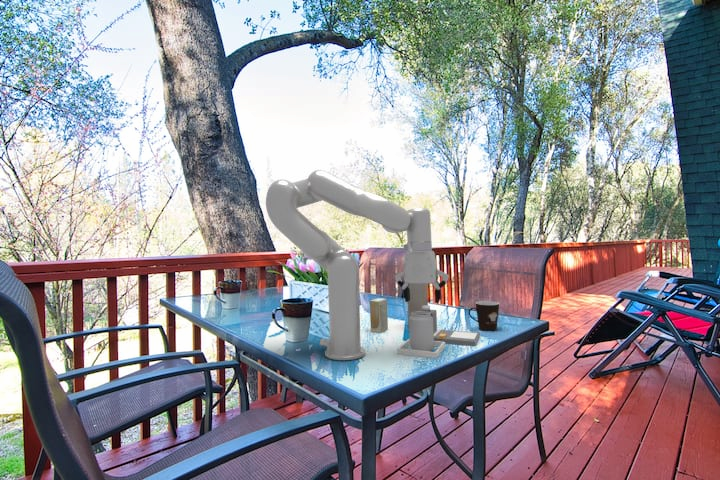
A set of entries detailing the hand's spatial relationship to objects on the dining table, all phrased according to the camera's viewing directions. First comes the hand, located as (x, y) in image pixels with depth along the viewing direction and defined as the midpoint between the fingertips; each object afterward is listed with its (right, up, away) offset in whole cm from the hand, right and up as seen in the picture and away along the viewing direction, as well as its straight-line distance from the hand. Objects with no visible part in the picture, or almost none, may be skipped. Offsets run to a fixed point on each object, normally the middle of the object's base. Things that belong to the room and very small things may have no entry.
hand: (422, 301), depth 118 cm
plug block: (+4, -14, +16) cm, 21 cm away
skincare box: (-12, -16, +26) cm, 33 cm away
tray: (0, -15, 0) cm, 15 cm away
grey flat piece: (+10, -15, +13) cm, 22 cm away
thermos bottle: (+3, -16, +29) cm, 33 cm away
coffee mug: (+28, -15, +25) cm, 40 cm away
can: (0, -16, 0) cm, 16 cm away
